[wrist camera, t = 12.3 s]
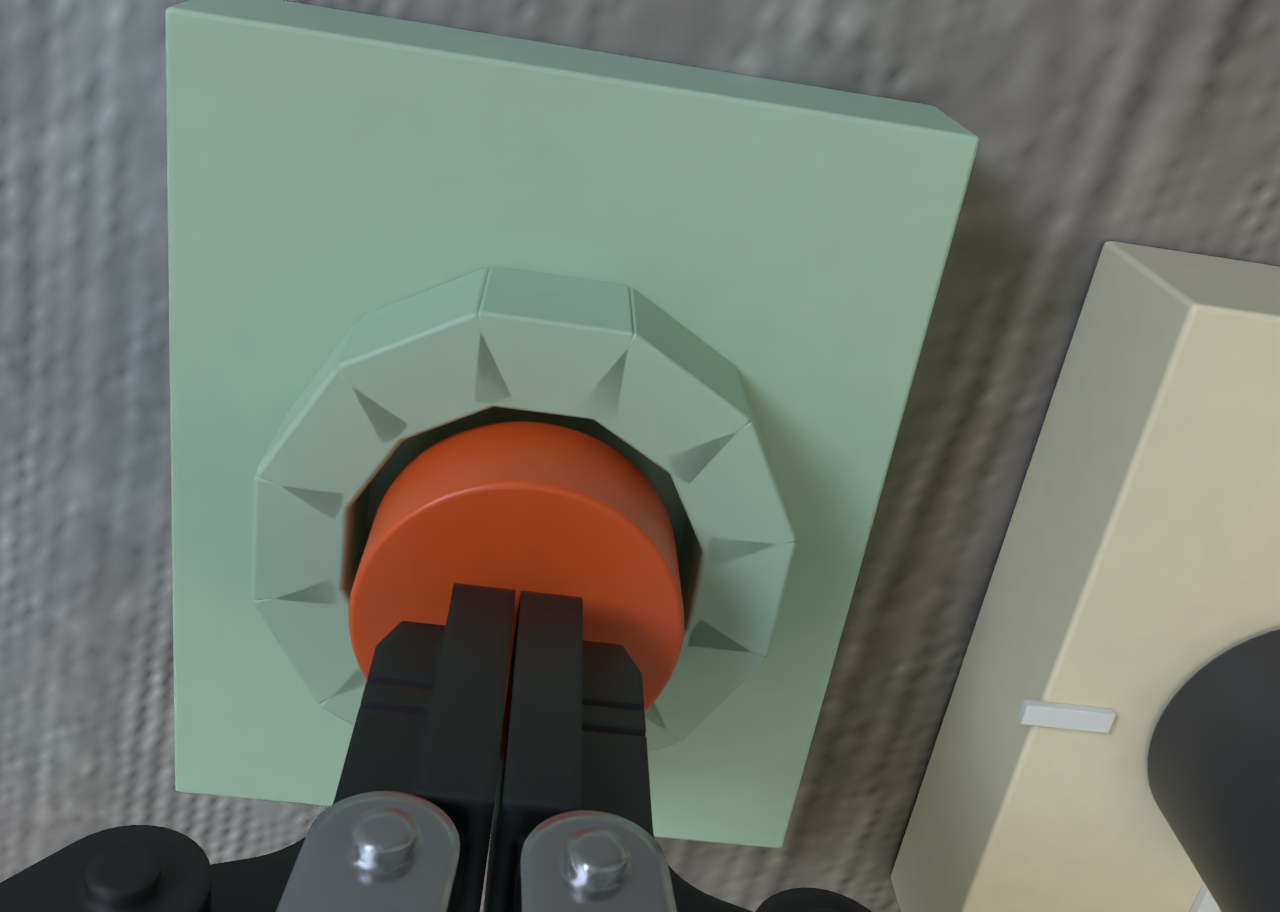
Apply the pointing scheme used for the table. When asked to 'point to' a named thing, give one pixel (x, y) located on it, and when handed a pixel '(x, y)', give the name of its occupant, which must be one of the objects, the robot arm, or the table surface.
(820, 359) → the button base
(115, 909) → the robot arm
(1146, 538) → the dial panel
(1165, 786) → the dial
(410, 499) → the power button
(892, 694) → the table surface
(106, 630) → the table surface
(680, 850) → the table surface
